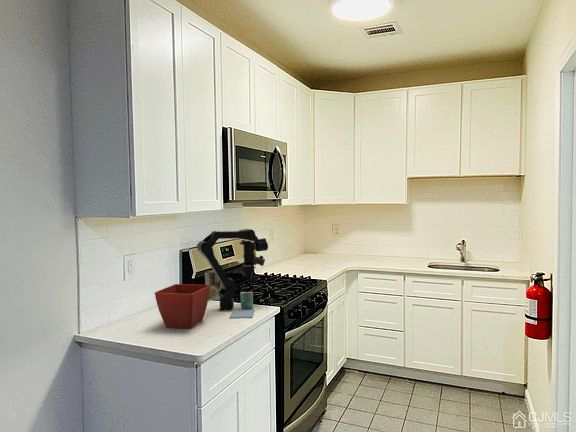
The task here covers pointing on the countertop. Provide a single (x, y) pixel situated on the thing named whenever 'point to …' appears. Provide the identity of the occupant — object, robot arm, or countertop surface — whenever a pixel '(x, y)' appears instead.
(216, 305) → the countertop surface
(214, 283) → the coffee box
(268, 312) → the countertop surface
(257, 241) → the robot arm
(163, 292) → the plant pot
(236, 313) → the mat
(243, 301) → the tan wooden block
